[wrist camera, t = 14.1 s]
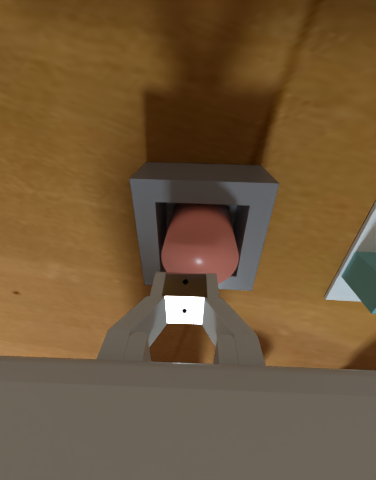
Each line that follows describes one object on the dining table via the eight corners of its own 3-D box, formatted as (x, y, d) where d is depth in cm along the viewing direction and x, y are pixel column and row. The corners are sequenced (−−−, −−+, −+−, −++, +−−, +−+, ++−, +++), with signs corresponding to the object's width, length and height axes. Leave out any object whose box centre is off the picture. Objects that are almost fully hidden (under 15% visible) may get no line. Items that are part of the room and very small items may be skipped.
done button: (172, 242, 17) (163, 285, 13) (171, 191, 15) (159, 224, 11) (225, 244, 17) (233, 289, 13) (232, 193, 15) (244, 227, 11)
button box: (154, 253, 19) (144, 284, 16) (146, 162, 15) (129, 178, 11) (242, 257, 19) (251, 290, 15) (261, 165, 14) (279, 183, 11)
